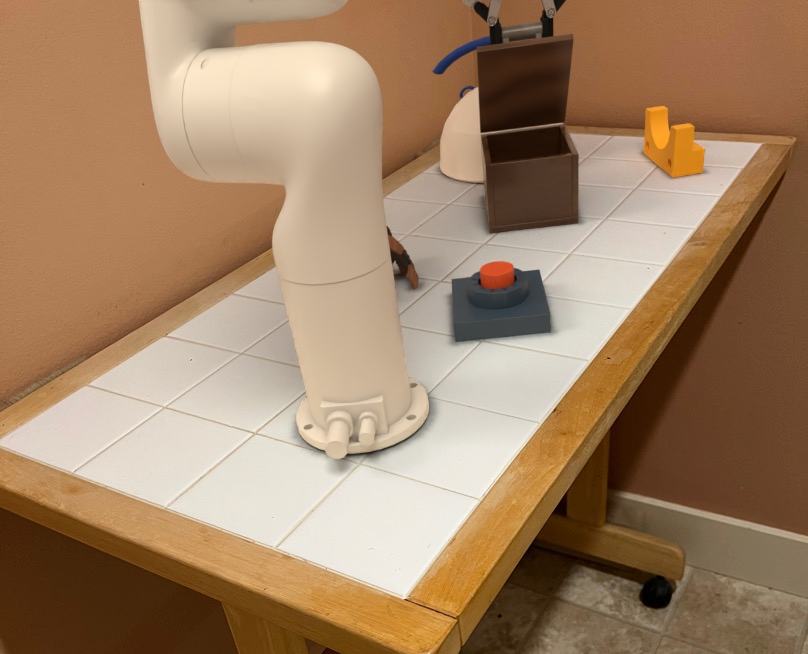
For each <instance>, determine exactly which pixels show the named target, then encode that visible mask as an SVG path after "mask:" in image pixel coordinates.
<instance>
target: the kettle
mask: <svg viewBox="0 0 808 654" xmlns="http://www.w3.org/2000/svg"><path fill="white" fill-rule="evenodd" d="M487 45H490V35H487V36H484V37H480V38H477V39H474V40H472V41H469V42H467V43H465V44H462V45H461V46H459V47H456V48H455V49H454V50H453V51H451V52H450V53H448V54H447V55H445V56H444V57H443V58H442V59H441V60H440V61H438V62H437V64H436V66H435V67H434V68H433V70H432V73H433V74H434V75H443V74H444V73H445V72H446V71H447V69H448V68H449V67H451V65H453V63H455V62H457V60H460V59H461V58H462V57H464V56H466V55H468V54H470V53H472V52H474V51H477V47H480V46H487ZM467 90H469V91H468V92H467V93H466V94H465V95H464V93H465V91H467ZM459 99H460V100H459V101H458V102H457V103H455V105H454V107H453V108H452V110H451V112H450V114H449V115H448V117H447V118H446V121H445V122H444V126H443V128H442V132H441V135H440V138H439V159H440V160H439V163H440V164H439V169H440V171H441V172H442V174H443V175H445V176H447V177H448V178H449V179H452V180H455V181H458V182H464V183H471V184H472V183H473V184H484V180H483V165H482V150H481V134H488V133H496V132H504V131H512V130H520V129H528V128H535V127H543V126H551V125H560V124H564V123H556V124H549V125H541V126H533V127H525V128H517V129H509V130H502V131H494V132H486V133H480V117H479V94H478V86H476V87H475V86H473V85H467V86H464V87H463V88H462V89H461V90H460V92H459Z"/></svg>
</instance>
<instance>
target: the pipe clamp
mask: <svg viewBox="0 0 808 654" xmlns="http://www.w3.org/2000/svg"><path fill="white" fill-rule="evenodd" d="M644 122H645V123H644V139H643V155H645V156H646V157H647V158H648V159H649V160H650V161H652V162H653V163H654V164H655V165H656V166H657V167H659V168H660V169H661V170H663V171H664V172H665V174H667V175H668V176H670V178H672V179H674V178H680V177H684V176H690V175H697V174H703V173H704V164H705V163H704V162H705V153H706V148H704V147H703V146H702V145H700V144H699V143H697V142H696V141H694V140H695V131H696V130H695V128H696V127H695V125H693V124H691V123H690V122H686V123H680V124H675V125H670V126H669V108H667V107H666V106H664V105H659V106H653V107H646V108H645V121H644ZM669 127H670V128H669Z"/></svg>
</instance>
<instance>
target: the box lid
mask: <svg viewBox="0 0 808 654" xmlns="http://www.w3.org/2000/svg"><path fill="white" fill-rule="evenodd" d="M501 29H502V44H494V45H487V46H480V47H477V50H476V68H477V87H478V94H479V117H480V133H486V132H494V131H502V130H509V129H517V128H525V127H533V126H541V125H549V124H556V123H563V124H565V123H566V117H567V107H568V106H567V105H568V97H569V89H570V88H569V87H570V80H571V79H570V78H571V69H572V58H573V49H574V41H575V39H574V33H568V34H567V33H566V34H559V35H553V36H552V37H545V38H542V35H543V29H542V22H541V21H540V20H539V21H533V22H527V23H520V24H519V23H518V24H512V25H506V26H505V25H503V26H501Z"/></svg>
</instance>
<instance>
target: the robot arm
mask: <svg viewBox="0 0 808 654" xmlns="http://www.w3.org/2000/svg"><path fill="white" fill-rule="evenodd" d="M348 1H349V0H138V7H139V9H138V10H139V16H140V24H141V31H142V39H143V48H144V54H145V63H146V70H147V79H148V85H149V86H148V87H149V93H150V100H151V101H150V102H151V107H152V112H153V113H152V114H153V118H154V123H155V126H156V130H157V134H158V137H159V141H160V143H161V145H162V147H163V149H164V152H165V154H166V155H167V157H168V159H169V160H170V161H171V163H172V164H173V165H174V167H176V168H177V169H178V171H180V172H181V173H182V174H184V175H185V176H187V177H189V178H191V179H193V180H195V181H196V180H197V181H201V182H205V183H218V184H219V183H221V184H222V183H223V184H266V185H275V186H276V185H277V186H282V187H284V190H285V198H284V202H283V204H282V207H281V209H280V212H279V214H278V216H277V218H276V221H275V224H274V226H273V229H272V230H273V231H272V235H271V250H272V255H273V256H272V257H273V260H274V265H275V269H276V273H277V277H278V281H279V285H280V290H281V293H282V297H283V301H284V305H285V309H286V314H287V319H288V323H289V326H290V330H291V335H292V339H293V343H294V349H295V350H296V356H297V361H298V364H299V368H300V372H301V376H302V380H303V385H304V389H305V392H306V396H305V397H304V398H303V400H302V401H301V402H300V404H299V405H298V407H297V409H296V413H295V423H296V427H297V429H298V433H299V435H300V436H301V438H302V439H303V440H304V441H305V442H306V443H308V444H309V445H310V446H312V447H313V448H317V449H319V450H322V451H324V452H325V454H326V455H327V456H328V457H329V458H330V459H333V460H341V459H343V458H345V457H346V455H347V454H350V455H354V454H365V453H371V452H374V451H379V450H383V449H386V448H388V447H392V446H394V445H396V444H398V443H400V442H402V441H404V440H406V439H408V438H409V437H410V436H412V435H413V434H414V433H416V432H417V430H419V429H420V428H422V426H423V424H424V423H425V422H426V420H427V418H428V416H429V412H430V401H429V395H428V392H427V390H426V389H425V387H424V385H422V384H421V383H420V382H419V381H417V380H415V379H413V378H412V377H410V376H409V372H408V366H407V358H406V352H405V345H404V338H403V331H402V323H401V318H400V311H399V304H398V297H397V290H396V283H395V277H394V276H395V275H394V270H393V265H392V261H391V255H390V247H389V240H388V233H387V226H388V225H387V218H386V210H385V202H384V201H385V200H384V189H383V188H384V187H383V133H384V132H383V131H384V130H383V128H384V110H383V109H384V108H383V96H382V89H381V87H380V83H379V80H378V77H377V75H376V73H375V71H374V69H373V68H372V66H371V65H370V64H369V62H368V61H367V60H366V59H365V58H364V57H363V56H362V55H361V54H359V52H357V51H355V50H353V49H352V48H349V47H347V46H345V45H341V44H338V43H334V42H328V41H323V40H321V41H320V40H319V41H318V40H299V41H284V42H283V41H281V42H267V43H266V42H265V43H257V44H253V45H240V46H236V29H237V27H238V26H239V27H240V26H249V25H260V24H262V25H263V24H273V23H287V22H296V21H305V20H312V19H317V18H322V17H326V16H329V15H332V14H334V13H336V12H338V11H339V10H341V9H342V8H343V7H344V6H346V5H347V3H348ZM566 1H567V0H540V2H541V6H542V11H541V16H540V17H539V22H540V21H541V22H542V29H543V35H542V38H545V37H552V36H554V18H555V17H556V15H557V13H558V11H559V10H560V9H561V8H562V6H563V5H564V4H565V3H566ZM460 2H462V3H463V4H465V5H466V6H467V7H469V9H471V10H473V11H474V12H475V13H476V14H477V15H478V16H479V17H480V18H481V19H482V20H483V21H485V23H487V25H488V29H489V33H488V34H489V36H490V45H494V44H502V29H501V27H502V24H501V22H500V18H499V13H500V9H501V4H502V0H489V1H488V6H487V4H485V3H484V2H483V1H482V0H460ZM386 225H387V226H386Z"/></svg>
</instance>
